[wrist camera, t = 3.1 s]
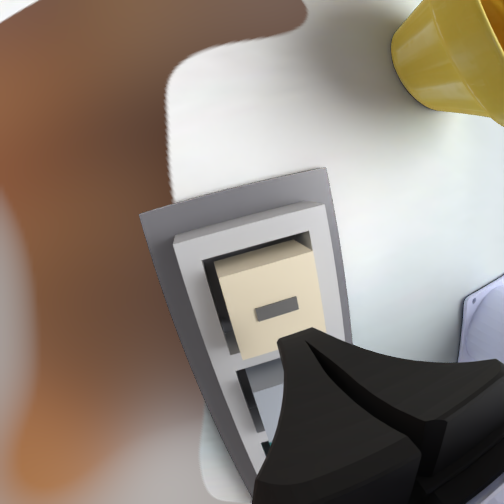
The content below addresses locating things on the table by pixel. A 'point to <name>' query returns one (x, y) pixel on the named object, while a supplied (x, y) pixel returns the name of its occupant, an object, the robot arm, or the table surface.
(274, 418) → the key slate
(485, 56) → the plant pot
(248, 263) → the block
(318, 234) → the keypad board
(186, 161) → the table surface
